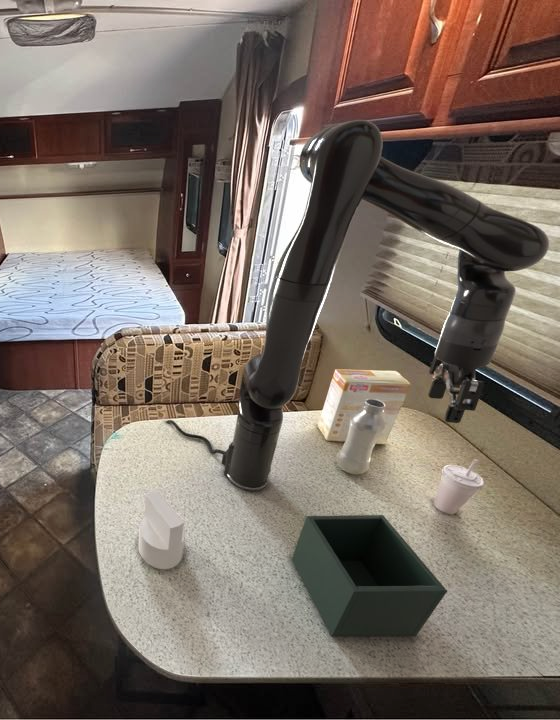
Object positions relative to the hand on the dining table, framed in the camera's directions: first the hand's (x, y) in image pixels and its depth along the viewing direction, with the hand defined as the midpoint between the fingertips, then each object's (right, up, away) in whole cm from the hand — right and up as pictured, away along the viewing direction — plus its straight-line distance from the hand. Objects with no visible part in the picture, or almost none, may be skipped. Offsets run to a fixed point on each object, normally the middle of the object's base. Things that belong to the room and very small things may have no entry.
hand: (442, 409), depth 75 cm
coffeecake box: (+3, -12, +30) cm, 32 cm away
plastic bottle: (-5, -18, +19) cm, 26 cm away
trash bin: (-25, -33, -8) cm, 42 cm away
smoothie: (+7, -23, +7) cm, 25 cm away
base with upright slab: (-57, -29, +1) cm, 64 cm away
